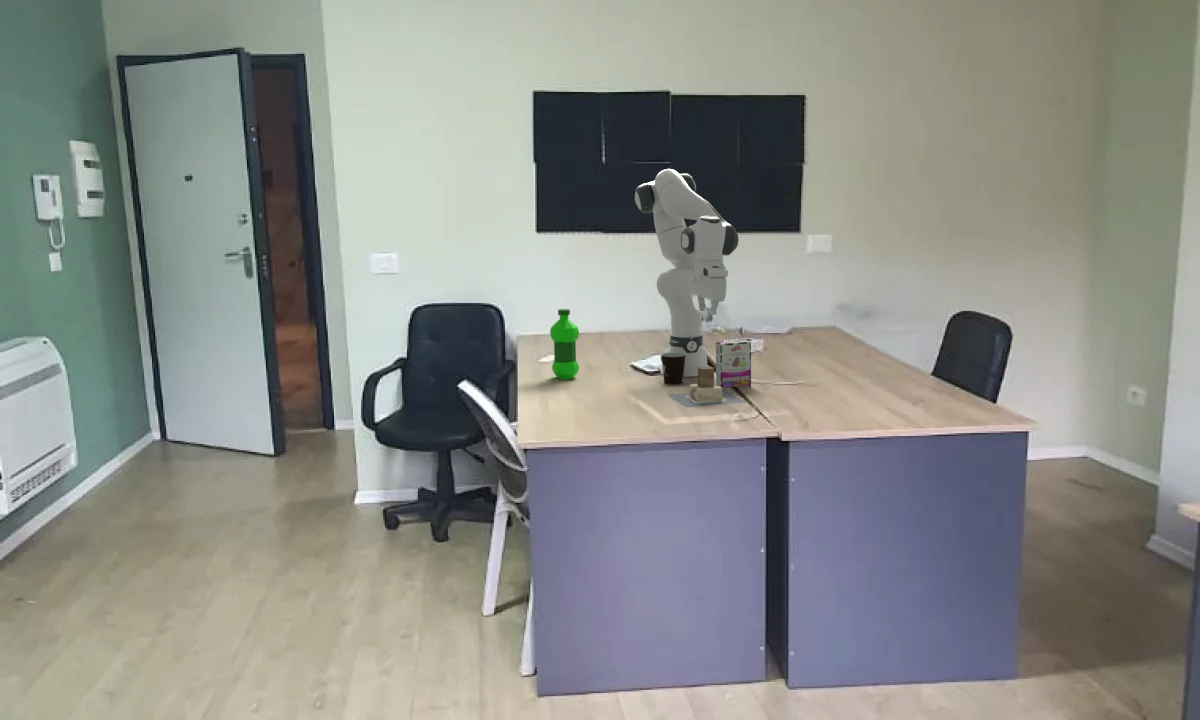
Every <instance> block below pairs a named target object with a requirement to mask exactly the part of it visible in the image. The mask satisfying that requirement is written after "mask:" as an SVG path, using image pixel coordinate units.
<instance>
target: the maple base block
mask: <svg viewBox="0 0 1200 720" xmlns="http://www.w3.org/2000/svg"><path fill="white" fill-rule="evenodd" d="M722 390H723V387H720V386H718V385H716V383H714V387H707V388H701V387H700V386H698V383H693V384H690V383H689V393H690V397H691V398H692V399H694V400H696V401H697V402H707V401H719V400H722Z"/></svg>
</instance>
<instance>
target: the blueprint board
mask: <svg viewBox="0 0 1200 720" xmlns="http://www.w3.org/2000/svg"><path fill="white" fill-rule="evenodd" d="M667 396H668V397H669V398H671V399H672V400H674V401H676V402H677V403H678V404H679V405H681V406H683V407H684V408H694V407H695V408H696V407H707V406H717V405H718V406H719V405H732V404H743V403H744V404H745V403H747V402H746V401H744V399H741V398H739V397H738V396H735V395H734V394H731V392H728V391H726V390H725V389H724V390H723V389H722V400H719V401H707V402H697V401H696V400H694V399H692V398H691V397H690V392H686V393H685V392H683V393H673V394H667Z"/></svg>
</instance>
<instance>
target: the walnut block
mask: <svg viewBox="0 0 1200 720" xmlns="http://www.w3.org/2000/svg"><path fill="white" fill-rule="evenodd" d="M697 384H698V386H700V387H701V388H707V387H714V384H715V368H714V367H712V366H710V365H707V366H703V367H698V376H697Z"/></svg>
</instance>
